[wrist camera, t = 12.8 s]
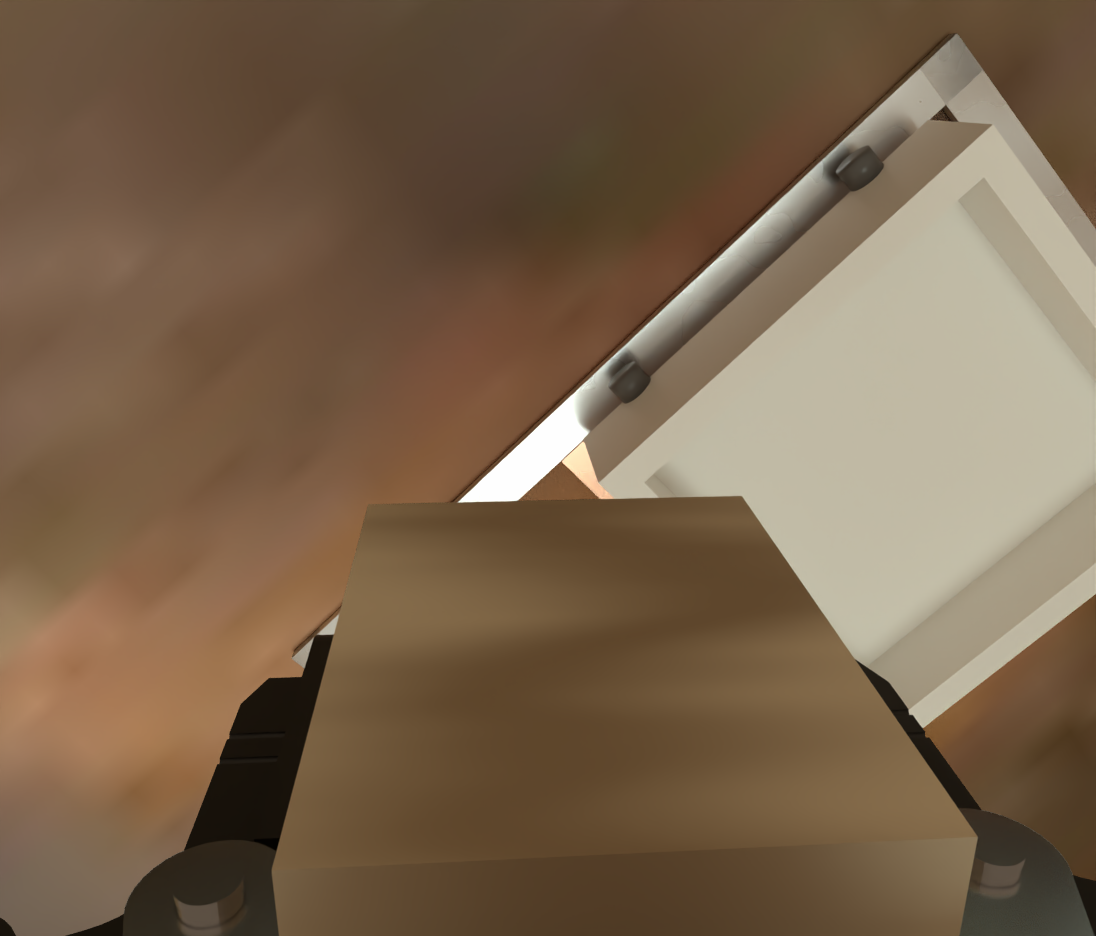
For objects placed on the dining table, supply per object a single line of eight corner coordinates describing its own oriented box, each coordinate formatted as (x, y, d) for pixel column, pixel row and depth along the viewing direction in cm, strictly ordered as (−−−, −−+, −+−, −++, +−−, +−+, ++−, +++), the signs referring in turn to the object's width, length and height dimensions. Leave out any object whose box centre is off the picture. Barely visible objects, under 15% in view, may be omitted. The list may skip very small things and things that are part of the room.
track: (596, 886, 35) (598, 895, 34) (293, 651, 30) (291, 658, 30) (1207, 396, 30) (1217, 400, 29) (950, 34, 25) (957, 33, 25)
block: (741, 496, 12) (978, 836, 6) (718, 800, 14) (893, 1292, 8) (368, 504, 12) (270, 871, 6) (387, 815, 13) (325, 1338, 8)
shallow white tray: (848, 695, 32) (896, 770, 28) (566, 419, 28) (581, 467, 24) (1162, 443, 29) (1257, 491, 26) (906, 101, 25) (978, 103, 22)
